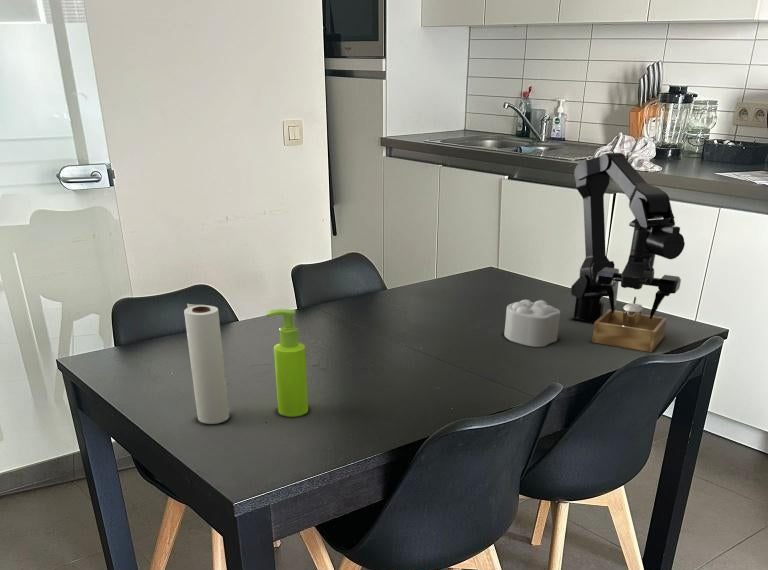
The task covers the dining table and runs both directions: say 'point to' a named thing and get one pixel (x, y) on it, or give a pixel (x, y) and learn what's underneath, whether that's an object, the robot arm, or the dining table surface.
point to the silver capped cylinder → (632, 314)
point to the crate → (629, 331)
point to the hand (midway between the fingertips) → (631, 315)
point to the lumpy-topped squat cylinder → (532, 323)
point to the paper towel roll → (207, 363)
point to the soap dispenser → (290, 368)
